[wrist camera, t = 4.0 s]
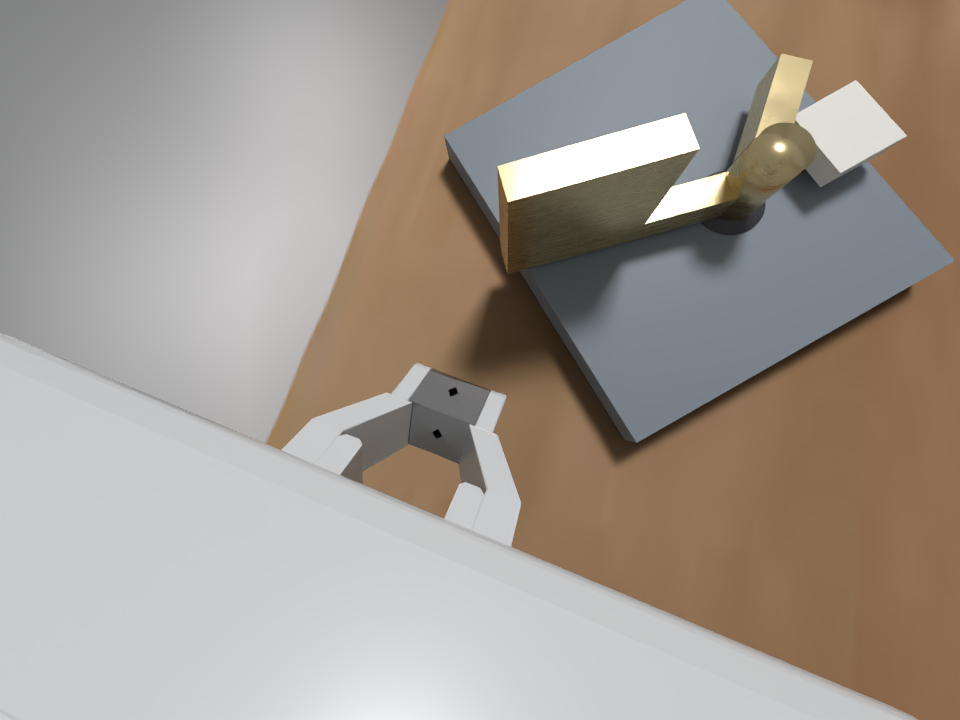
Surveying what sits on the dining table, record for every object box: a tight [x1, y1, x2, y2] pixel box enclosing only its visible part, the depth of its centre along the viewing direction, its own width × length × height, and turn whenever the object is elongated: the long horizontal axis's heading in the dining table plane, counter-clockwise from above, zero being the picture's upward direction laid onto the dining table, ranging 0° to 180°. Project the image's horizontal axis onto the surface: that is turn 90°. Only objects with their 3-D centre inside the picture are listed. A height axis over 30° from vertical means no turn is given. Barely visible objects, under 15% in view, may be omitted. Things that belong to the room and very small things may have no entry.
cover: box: [794, 80, 907, 187], centre depth 20 cm, size 4×4×1 cm
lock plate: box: [444, 0, 955, 443], centre depth 22 cm, size 20×22×2 cm
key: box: [497, 54, 816, 274], centre depth 17 cm, size 19×6×7 cm, turn 119°
